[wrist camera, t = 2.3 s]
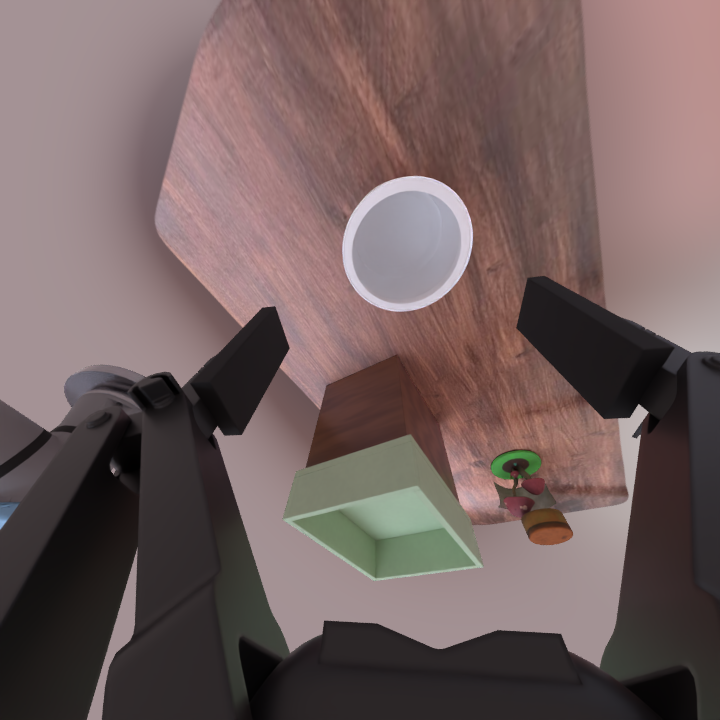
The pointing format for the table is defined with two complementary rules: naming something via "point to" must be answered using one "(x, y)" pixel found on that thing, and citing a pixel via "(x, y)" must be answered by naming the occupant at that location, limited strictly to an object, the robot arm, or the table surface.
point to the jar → (407, 243)
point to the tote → (384, 512)
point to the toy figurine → (530, 498)
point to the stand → (377, 417)
